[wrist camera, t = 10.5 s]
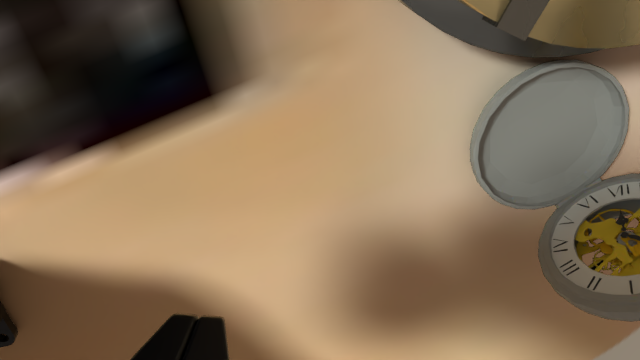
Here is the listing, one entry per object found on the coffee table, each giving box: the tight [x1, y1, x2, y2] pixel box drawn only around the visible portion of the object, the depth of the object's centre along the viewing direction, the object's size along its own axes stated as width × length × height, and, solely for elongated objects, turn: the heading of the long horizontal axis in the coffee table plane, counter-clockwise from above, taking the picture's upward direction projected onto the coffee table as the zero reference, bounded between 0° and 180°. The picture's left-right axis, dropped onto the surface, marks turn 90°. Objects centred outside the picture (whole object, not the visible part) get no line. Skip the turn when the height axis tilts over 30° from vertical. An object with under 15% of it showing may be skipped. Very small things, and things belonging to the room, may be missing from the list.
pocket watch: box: [470, 60, 640, 322], centre depth 19 cm, size 8×8×10 cm
